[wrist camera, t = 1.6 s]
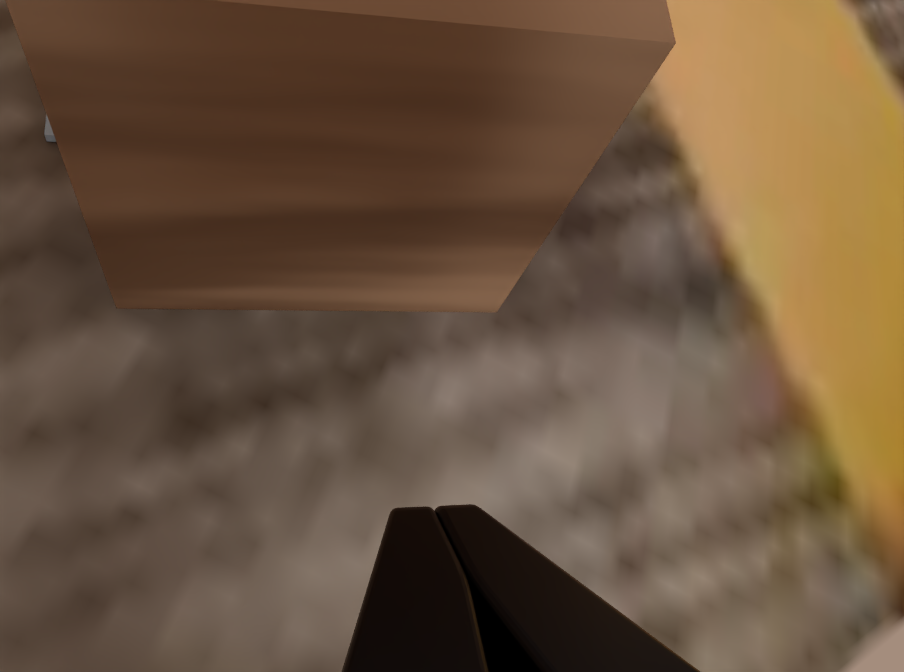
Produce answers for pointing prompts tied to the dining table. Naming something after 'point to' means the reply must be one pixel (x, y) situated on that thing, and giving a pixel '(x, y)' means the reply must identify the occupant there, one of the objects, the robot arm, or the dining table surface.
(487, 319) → the dining table surface
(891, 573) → the dining table surface
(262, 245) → the walnut block
